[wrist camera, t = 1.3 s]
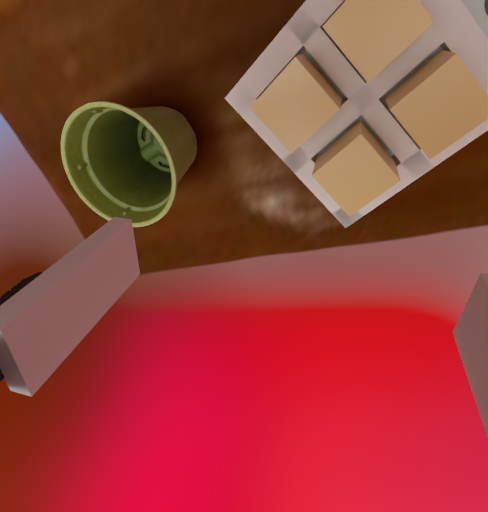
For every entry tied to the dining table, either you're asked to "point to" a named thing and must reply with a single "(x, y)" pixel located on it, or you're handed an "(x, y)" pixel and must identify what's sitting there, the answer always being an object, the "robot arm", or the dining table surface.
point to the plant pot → (127, 158)
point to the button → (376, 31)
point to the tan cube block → (355, 169)
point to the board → (362, 91)
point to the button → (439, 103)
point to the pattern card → (478, 12)
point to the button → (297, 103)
